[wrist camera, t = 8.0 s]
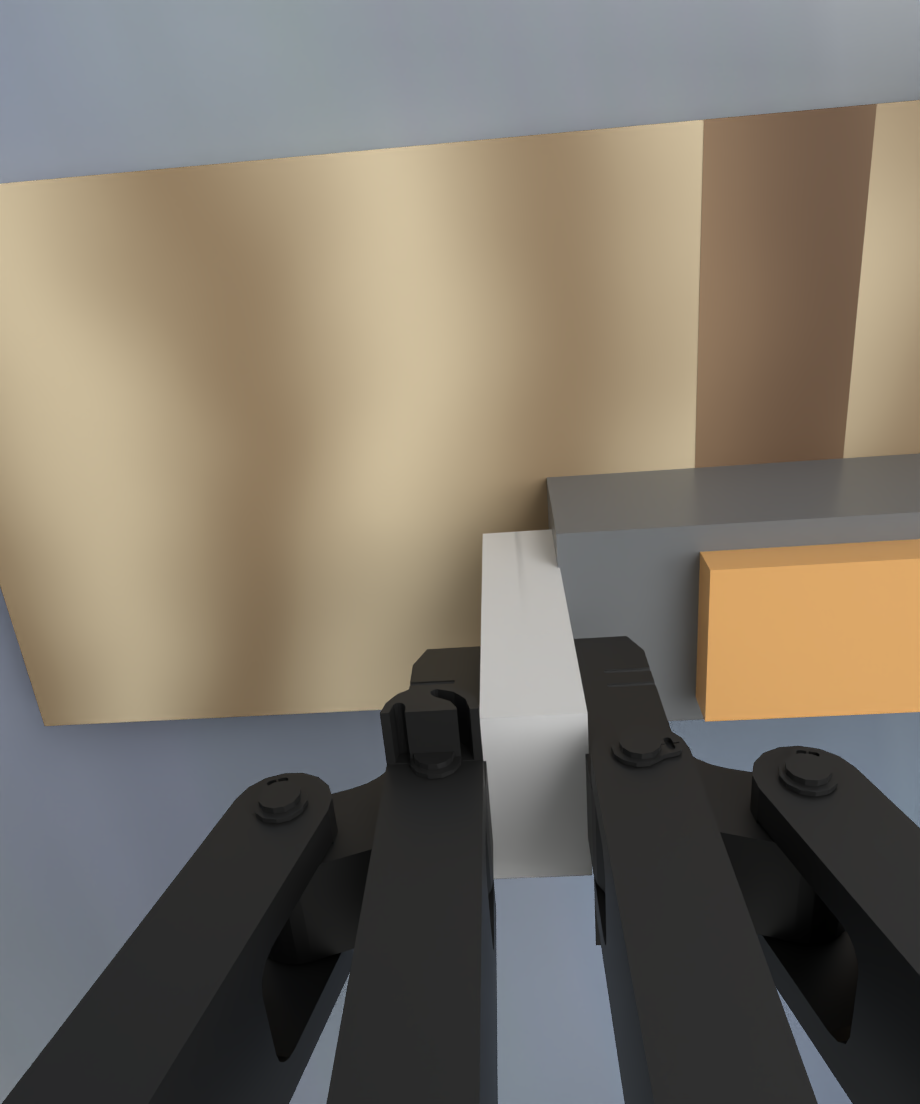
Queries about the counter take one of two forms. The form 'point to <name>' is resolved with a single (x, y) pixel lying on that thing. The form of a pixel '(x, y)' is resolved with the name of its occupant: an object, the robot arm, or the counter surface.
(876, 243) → the plywood panel
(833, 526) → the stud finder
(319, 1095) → the counter surface
